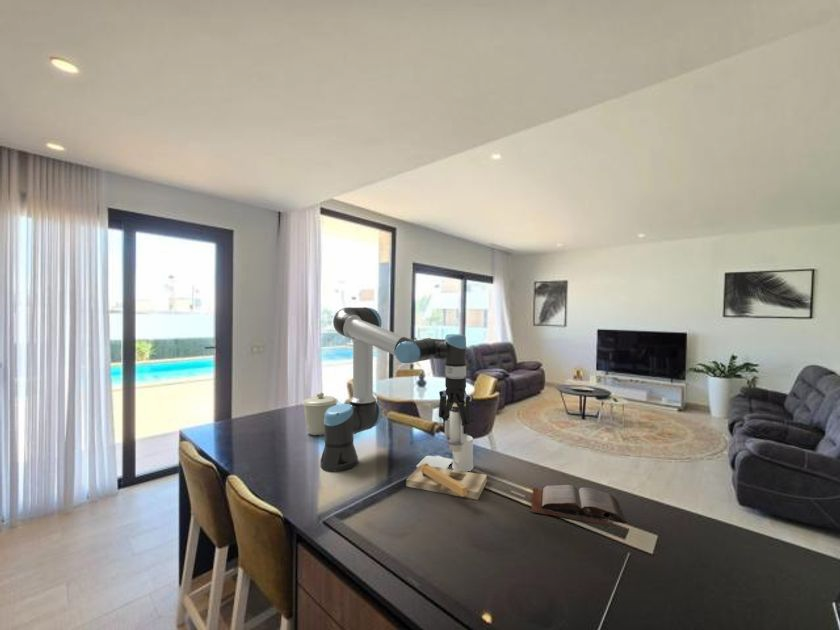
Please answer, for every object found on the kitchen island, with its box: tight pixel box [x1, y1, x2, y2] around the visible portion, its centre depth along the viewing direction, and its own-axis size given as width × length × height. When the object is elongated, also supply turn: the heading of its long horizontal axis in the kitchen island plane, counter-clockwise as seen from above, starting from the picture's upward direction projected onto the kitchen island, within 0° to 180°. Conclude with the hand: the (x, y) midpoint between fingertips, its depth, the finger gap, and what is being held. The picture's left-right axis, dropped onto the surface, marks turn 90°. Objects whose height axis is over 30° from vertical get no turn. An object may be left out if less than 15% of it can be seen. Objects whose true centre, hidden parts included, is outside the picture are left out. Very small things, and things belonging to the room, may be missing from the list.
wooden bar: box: [421, 463, 467, 498], centre depth 127 cm, size 23×3×3 cm, turn 35°
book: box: [530, 484, 626, 527], centre depth 119 cm, size 20×28×4 cm
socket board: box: [405, 465, 488, 501], centre depth 134 cm, size 26×14×4 cm, turn 68°
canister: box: [301, 391, 339, 436], centre depth 193 cm, size 18×18×21 cm
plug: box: [446, 405, 464, 453], centre depth 134 cm, size 7×7×16 cm
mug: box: [451, 434, 475, 472], centre depth 147 cm, size 12×8×12 cm
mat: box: [415, 455, 453, 469], centre depth 151 cm, size 12×12×1 cm
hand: (455, 439), depth 134 cm, fingers closed on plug, 6 cm apart
